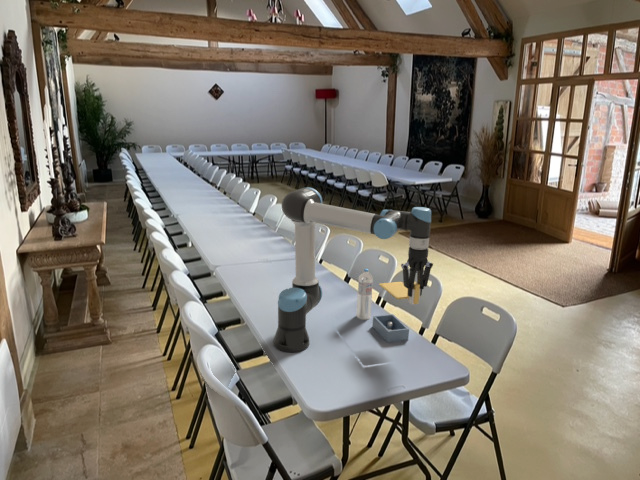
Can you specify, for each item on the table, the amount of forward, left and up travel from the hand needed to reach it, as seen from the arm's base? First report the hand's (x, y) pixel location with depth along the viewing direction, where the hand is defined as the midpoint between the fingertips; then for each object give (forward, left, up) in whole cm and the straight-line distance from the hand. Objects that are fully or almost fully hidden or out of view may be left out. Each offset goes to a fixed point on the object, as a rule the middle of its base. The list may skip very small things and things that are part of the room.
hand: (413, 303), depth 190 cm
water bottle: (-5, +37, -23) cm, 44 cm away
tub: (0, +18, -23) cm, 29 cm away
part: (+2, +22, -22) cm, 31 cm away
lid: (0, +10, 0) cm, 10 cm away
